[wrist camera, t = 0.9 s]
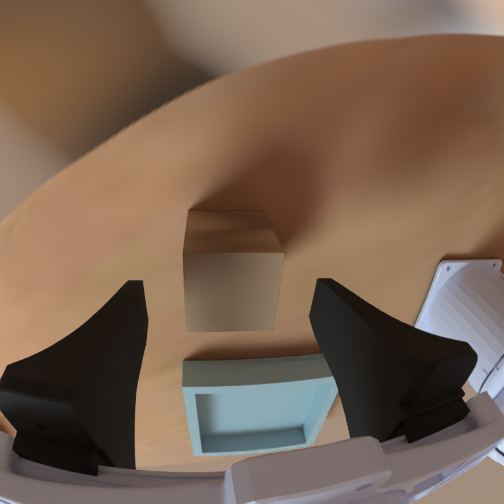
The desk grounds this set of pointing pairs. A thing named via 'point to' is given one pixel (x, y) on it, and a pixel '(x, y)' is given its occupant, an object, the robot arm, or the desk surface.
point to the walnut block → (231, 271)
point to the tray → (256, 403)
